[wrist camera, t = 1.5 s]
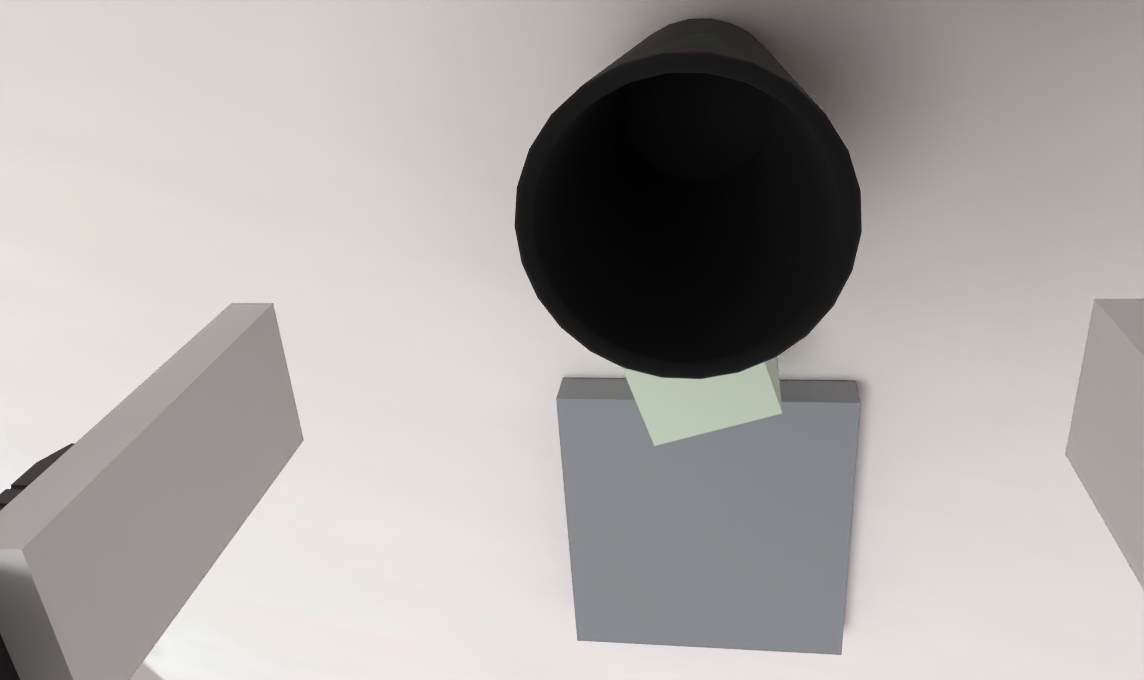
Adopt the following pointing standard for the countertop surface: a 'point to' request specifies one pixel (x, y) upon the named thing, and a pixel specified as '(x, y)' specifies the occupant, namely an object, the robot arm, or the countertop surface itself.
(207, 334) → the robot arm
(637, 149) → the cup
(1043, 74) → the countertop surface
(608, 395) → the plate
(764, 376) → the sage block
